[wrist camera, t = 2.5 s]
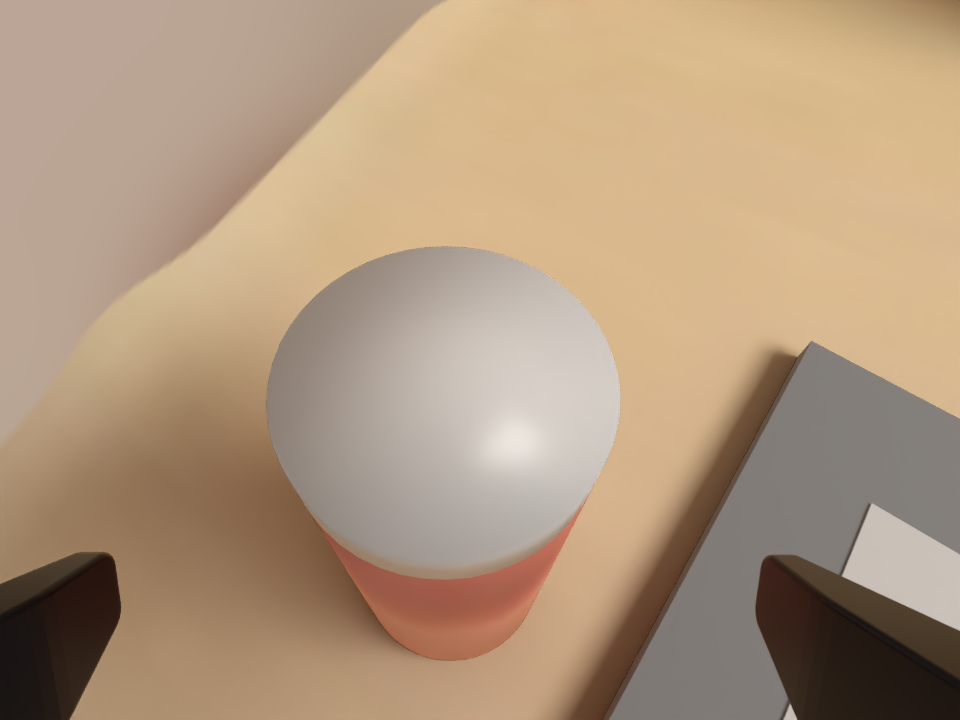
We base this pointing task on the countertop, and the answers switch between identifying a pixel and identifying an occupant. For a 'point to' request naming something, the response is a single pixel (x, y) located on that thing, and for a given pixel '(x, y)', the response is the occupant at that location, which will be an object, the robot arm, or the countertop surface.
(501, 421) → the salt shaker
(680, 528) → the countertop surface
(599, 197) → the countertop surface
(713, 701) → the mat
